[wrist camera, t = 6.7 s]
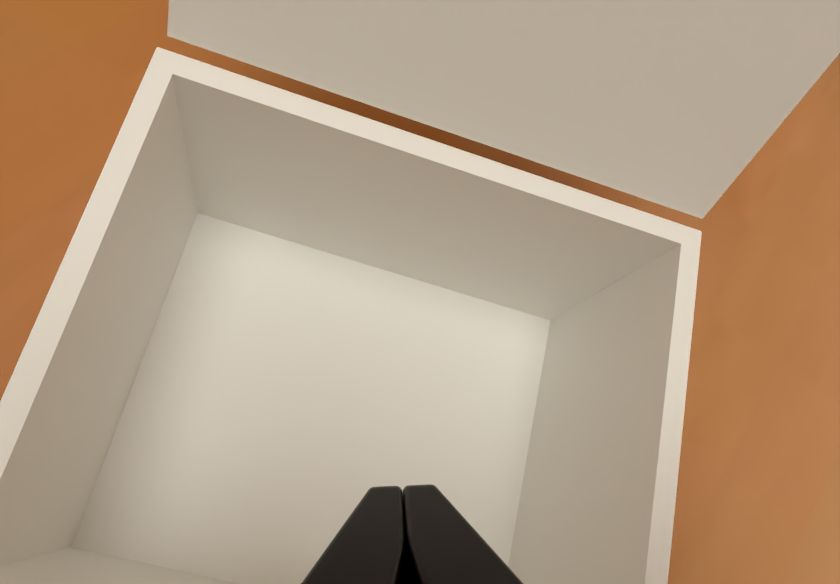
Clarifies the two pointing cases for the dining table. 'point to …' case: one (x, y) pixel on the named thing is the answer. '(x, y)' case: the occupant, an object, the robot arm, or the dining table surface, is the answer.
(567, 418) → the carton
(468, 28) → the carton flap
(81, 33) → the dining table surface
